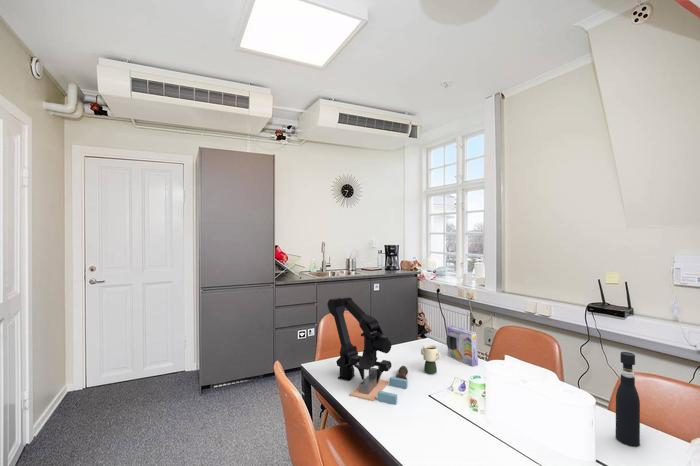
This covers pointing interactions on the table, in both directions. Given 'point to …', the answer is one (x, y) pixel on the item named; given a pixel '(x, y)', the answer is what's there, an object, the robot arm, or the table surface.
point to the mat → (372, 394)
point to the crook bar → (369, 382)
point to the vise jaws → (392, 397)
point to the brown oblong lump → (402, 372)
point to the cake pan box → (462, 345)
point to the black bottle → (627, 405)
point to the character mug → (430, 358)
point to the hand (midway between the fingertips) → (370, 381)
